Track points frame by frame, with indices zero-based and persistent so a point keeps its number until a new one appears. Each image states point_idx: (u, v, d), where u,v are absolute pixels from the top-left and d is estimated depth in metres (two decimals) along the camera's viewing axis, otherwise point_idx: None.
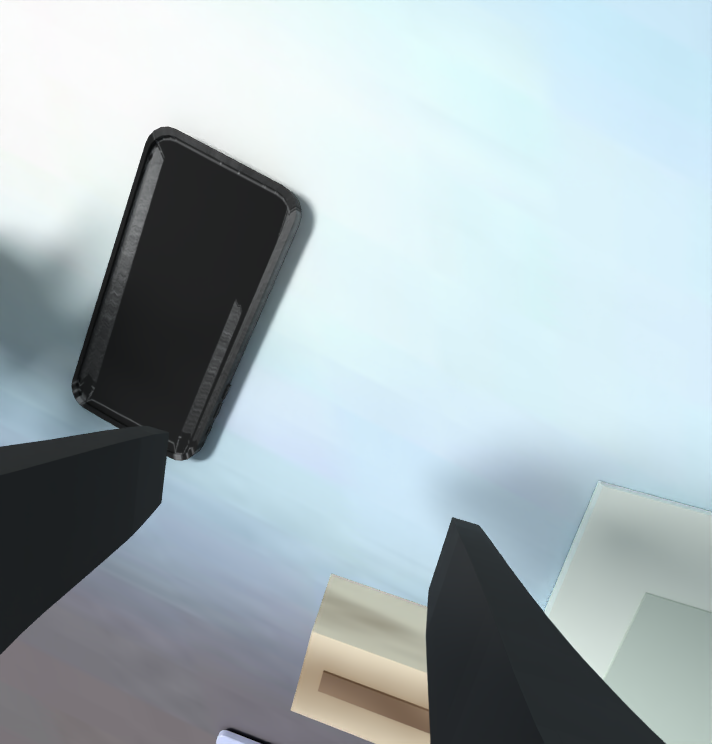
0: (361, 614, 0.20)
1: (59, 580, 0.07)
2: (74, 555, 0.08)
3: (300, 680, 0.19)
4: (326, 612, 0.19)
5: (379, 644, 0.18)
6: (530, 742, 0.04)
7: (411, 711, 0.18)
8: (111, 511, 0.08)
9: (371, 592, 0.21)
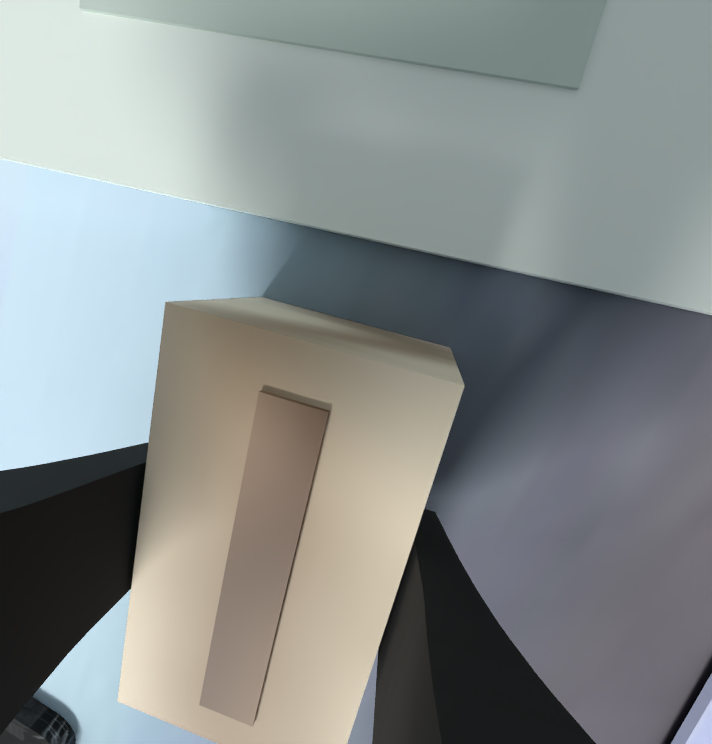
0: None
1: (104, 596, 0.07)
2: (118, 571, 0.08)
3: None
4: None
5: None
6: (429, 705, 0.04)
7: (258, 532, 0.07)
8: None
9: None
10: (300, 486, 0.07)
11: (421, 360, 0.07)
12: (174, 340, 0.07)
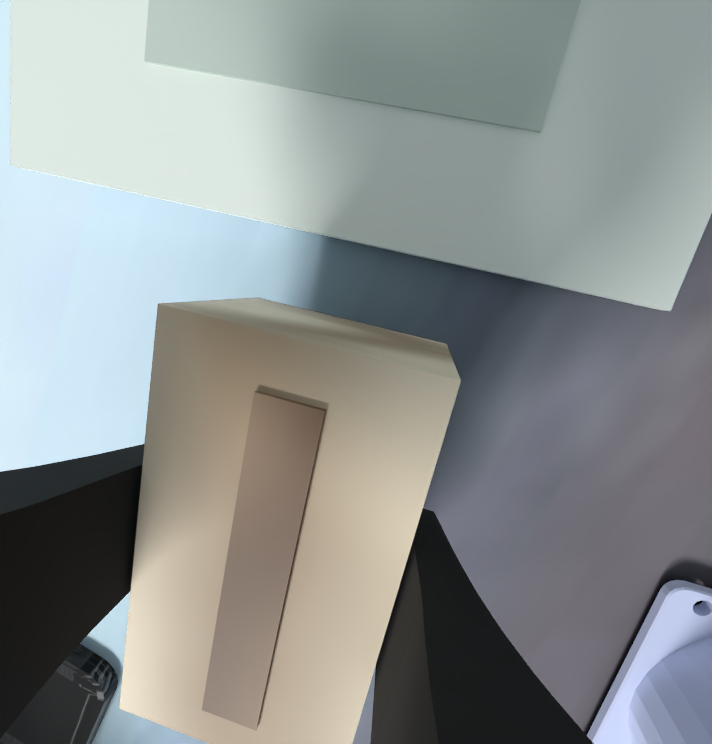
0: None
1: (106, 597, 0.07)
2: (120, 571, 0.07)
3: None
4: None
5: None
6: (425, 703, 0.04)
7: (257, 534, 0.07)
8: None
9: None
10: (298, 487, 0.07)
11: (417, 357, 0.07)
12: (167, 342, 0.07)
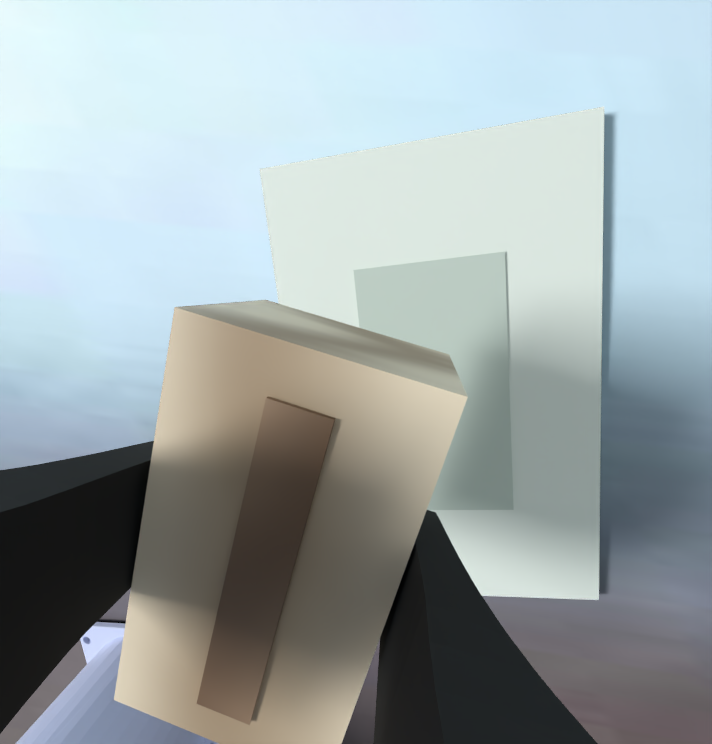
0: None
1: (103, 596, 0.07)
2: (117, 570, 0.08)
3: None
4: None
5: None
6: (430, 705, 0.04)
7: (261, 534, 0.07)
8: None
9: None
10: (304, 491, 0.07)
11: (424, 369, 0.07)
12: (182, 345, 0.07)
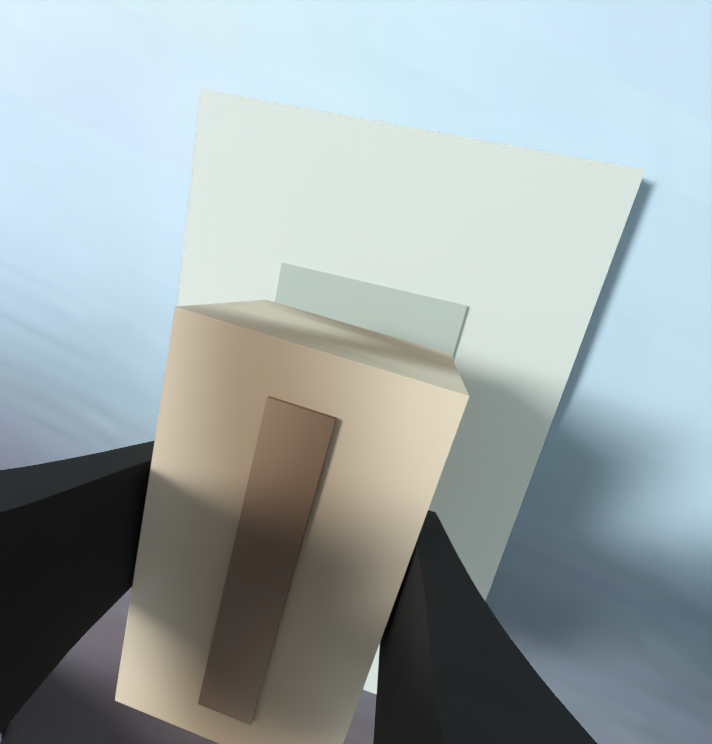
0: None
1: (104, 596, 0.07)
2: (118, 570, 0.08)
3: None
4: None
5: None
6: (430, 704, 0.04)
7: (262, 534, 0.07)
8: None
9: None
10: (305, 491, 0.07)
11: (425, 369, 0.07)
12: (183, 344, 0.07)
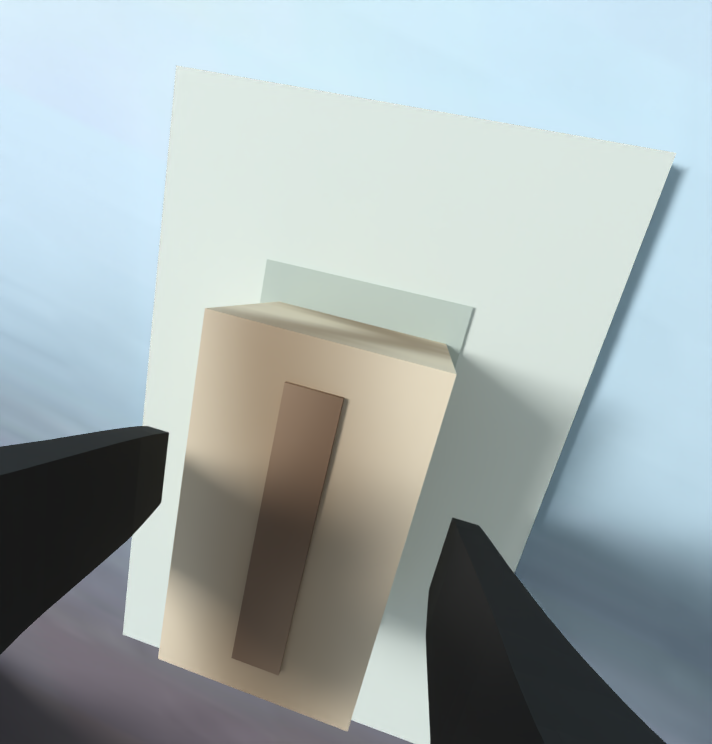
0: None
1: (59, 580, 0.07)
2: (74, 555, 0.08)
3: (268, 699, 0.09)
4: None
5: None
6: (530, 742, 0.04)
7: (283, 503, 0.08)
8: (111, 511, 0.08)
9: None
10: (320, 462, 0.08)
11: (420, 354, 0.08)
12: (212, 340, 0.08)
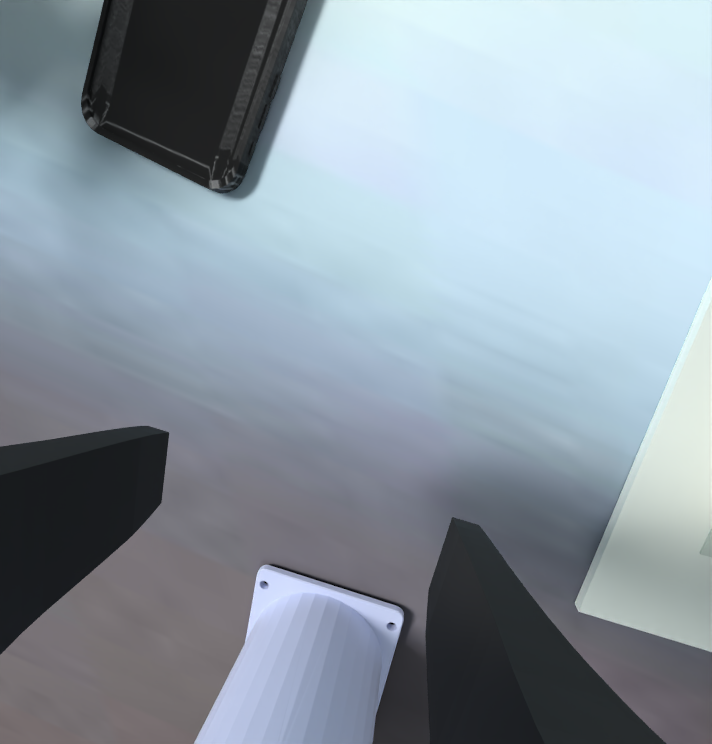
0: None
1: (59, 580, 0.07)
2: (74, 555, 0.08)
3: None
4: None
5: None
6: (529, 741, 0.04)
7: None
8: (111, 511, 0.08)
9: None
10: None
11: None
12: None
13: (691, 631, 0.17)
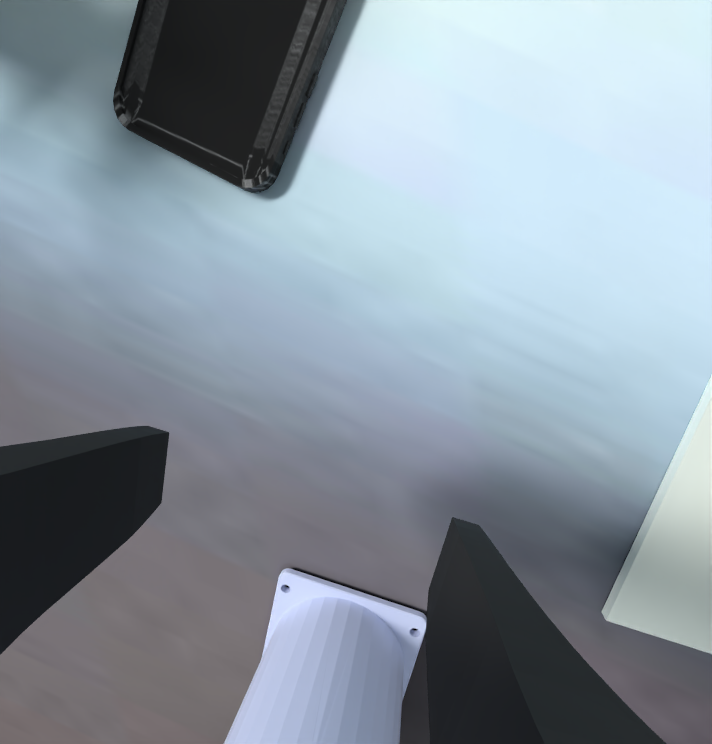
0: None
1: (59, 580, 0.07)
2: (74, 555, 0.08)
3: None
4: None
5: None
6: (530, 741, 0.04)
7: None
8: (111, 511, 0.08)
9: None
10: None
11: None
12: None
13: None
